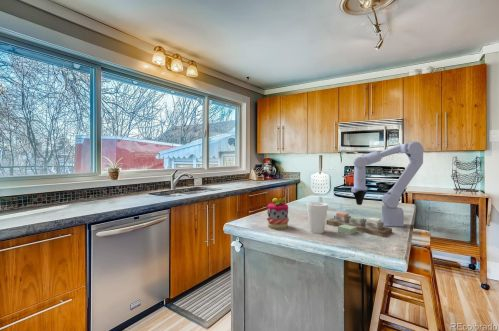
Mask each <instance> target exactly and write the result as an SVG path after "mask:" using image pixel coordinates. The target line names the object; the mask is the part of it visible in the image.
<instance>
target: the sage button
mask: <svg viewBox="0 0 499 331" xmlns="http://www.w3.org/2000/svg"><path fill="white" fill-rule="evenodd" d="M351 219H353V220H359V221H361V220H364V219H365V217H362V216H355V215H354V216H351Z"/></svg>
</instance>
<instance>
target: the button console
mask: <svg viewBox="0 0 499 331" xmlns="http://www.w3.org/2000/svg"><path fill="white" fill-rule="evenodd" d="M351 218H352V216H351V215H349V217H345V218H343V217H338V216H336V215H333V218H329V219H326V225H329V226H333V227H337V228H338V226H341V225H344V224H346V225H350V226H355V227H357V232H359V233H365V234H369V235H373V236H377V237H382V238H384V237H386V236H389V235H390V234H392V233H393V228H392V227H389V226H384V222H381V223H379V224H374V223H369V222H367V219H366V218H364V220H361V221H359V220H353V219H351Z"/></svg>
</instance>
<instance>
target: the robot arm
mask: <svg viewBox="0 0 499 331" xmlns="http://www.w3.org/2000/svg"><path fill="white" fill-rule="evenodd" d="M398 153H399V154H403V153H404V154H405V155H406V156H407V158H408V160H409V163H408V165H406V167H405V169H404V171H403V172H402V173H401V175H400V176H399V178H398V179H397V181H395V183H394V185H393V186H392V187H391V188H390V189H389V190H388V191H387V192H386V193H384V194H383V195H382V197H381V202H382V203H383V204H382V206H381V222H384V227H405V225H404V219H405V217H404V216H405V214H404V209H403V208H402V207H399V205H400V204H399V203H400V199H401V198H402V195H403V192H404V191H405V189H406V188H407V187H408V185H409V184H410V182H411V181H412V180H413V178H414V176H416V174H417V172H418V171H419V169H421V167H422V165H423V164H424V153H425V149H424V147H423V145H422V144H421V142H419V141H411V142H407V143H406V142H405V143H402V144H397V145H394V146H393V147H390V148H387V149H384V150H382V151H377V150H371V151H370V152H369V153H366V154H362V155H361V156H358V157H356V158H355V159H354V161H353V166H354V168H353V169H354V170H353V186H352V187H351V189H350V192H351V193H352V194H353V196H354V198H355V203H356V205H358V206H362V205H363V203H364V202H363V201H364V198H365V196H366V195H367V191H368V186H366V178H367V177H366V173H367V172H366V167H367V166H371V165H373V164H376V163H378V162H381V160H382V159H383V158H385V157H388V156H391V155H395V154H398Z"/></svg>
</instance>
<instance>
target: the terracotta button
mask: <svg viewBox="0 0 499 331" xmlns="http://www.w3.org/2000/svg"><path fill="white" fill-rule="evenodd" d="M349 214H350V213H349V212H345V211H344V212H342V211H338V212H336V215H335V216H338V217H343V218H345V217H349V216H350V215H349Z"/></svg>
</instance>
